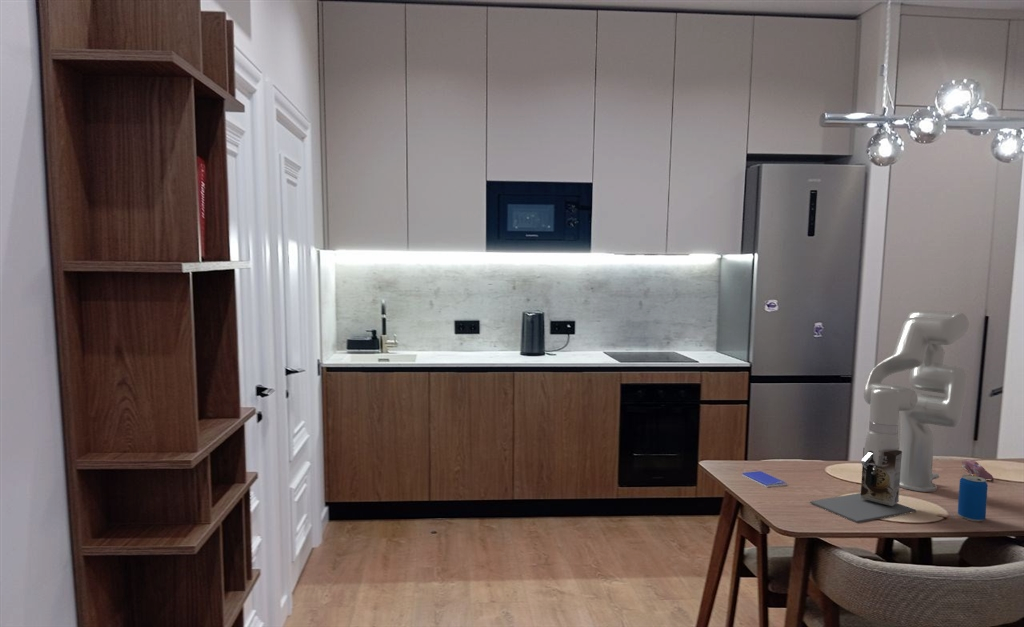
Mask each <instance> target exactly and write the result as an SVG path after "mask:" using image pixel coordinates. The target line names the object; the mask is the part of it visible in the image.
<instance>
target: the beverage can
mask: <svg viewBox="0 0 1024 627" xmlns="http://www.w3.org/2000/svg"><path fill="white" fill-rule="evenodd" d="M987 499H988V483H987V480H986V479H984V478H982V477H978V476H974V475H973V476H972V475H970V474H963V475H961V478H960V479H959V490H958V503H957V514H958V515H959V516H960V518H962V519H964V520H967V521H971V522H982V521H984V520H986V515H987Z"/></svg>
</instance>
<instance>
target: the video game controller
mask: <svg viewBox="0 0 1024 627" xmlns="http://www.w3.org/2000/svg"><path fill="white" fill-rule="evenodd" d="M961 464H962V466H961V467H962V469H965V470H966V471H967V472H968V473H971V474H974V475H973V476H978V477H981V478H984V479H993V480H994V477H993V475H992V474H991V473H989V471H987V470H986V469H985V468H984V466H982V465H981V464H979V463H978V461H976V460H971V459H968V460H967V459H966V460H964V461H962V462H961Z"/></svg>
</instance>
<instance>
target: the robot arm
mask: <svg viewBox="0 0 1024 627" xmlns="http://www.w3.org/2000/svg"><path fill="white" fill-rule="evenodd" d="M968 329H969V318H968V317H967V315H966V314H965V313H963V312H959V311H943V310H927V309H926V310H921V309H920V310H914V311H911V312H909V313H908V315H907V317H906V320H905V321H904V322H903V324H902V326H901V329H900V332H899V334H898V337H897V340H896V342H895V346H894V350H893V352H892V354H891V355H890V356H888V357H885V359H883V360H882V361H880V362H879V363H878V364H877V365H875V366H874V367H873V368H872V369H871V371H870V372H869V374H868V376H867V380H866V382H865V386H864V390H863V399H864V401H865V402H866V403H867V405H869V406H870V407H869V424H868V431H867V434H866V437H865V441H864V446H863V448H864V456H863V455H862V459H861V460H860V462H861V463H860V464H861V465H863V468H864V469H865V472H866V481H865V484H866V485H869V486H871V487H876V482H877V475H876V474H875V473H876V471H877V469H878V467H880V466H882V462H883V456H884V452H887V451H897V450H899V451H902V457H901V470H900V485H899V488H902V489H906V490H910V491H915V492H923V493H928V492H929V493H930V492H935V491H937V488H938V487H937V485H936V484H935V483H933V480H937V479H939V478H940V476H939V474H938V473H937V472H933V460H934V459H933V458H934V444H935V442H934V441H935V436H934V433H933V431H932V430H931V428H930V427H929V426H928V425H933V426H934V425H935V426H941V427H945V428H955V427H957V426H959V424H960V423H961V420H962V416H963V413H964V412H963V411H964V407H965V406H964V405H965V401H966V396H967V389H968V376H967V373H966V371H965V369H963V368H962V367H960V366H957V365H949V364H948V365H947V364H943V363H944V357H945V349H944V347H943V346H948V345H949V346H950V345H953V344H954V343H956V342H958V341H959V340H961V339H962V338H963V337H964V336H965V335H966V334H967V332H968ZM904 371H905V372H906V371H910V372H909V384H910V386H911V387H912V388H911V387H907V386H902V385H897V384H888V383H882V382H883V381H884V380H885V379H886V378H887V377H890V376H891V375H894V374H897V373H900V372H904ZM915 389H916V390H919V391H923V392H930V393H937V394H944V395H946V396H939V395H933V394H926V393H920V392H919V393H918V392H916V391H915ZM899 420H900V423H899ZM899 424H900V425H899ZM899 426H900V429H899ZM899 430H900V432H899ZM898 433H899V434H900V435H899V434H898ZM872 458H873V460H874V462H875V464H874V463H870V460H871V459H872ZM870 465H871V466H874V467H873V469H872V468H871V467H870Z"/></svg>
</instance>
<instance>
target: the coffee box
mask: <svg viewBox="0 0 1024 627" xmlns="http://www.w3.org/2000/svg"><path fill="white" fill-rule="evenodd" d="M862 451H863V452H862V457H863V456H864V447H863V450H862ZM901 457H902V451H899V450H897V451H887V452H884V456H883V462H882V466H880V467H878V469H877V471H876V473H875V474H876V475H877V482H876V487H871V486H869V485H866V484H865V481H866V472H865V469H864V468H863V465H862V464H861V465H862V466H861V467H862V468H861V483H860V484H861V485H860V493H861V497H860V498H863V499H867V500H871V501H874V502H878V503H882V504H886V505H890V506H893V505H895V504H896V503H899V500H900V498H899V496H900V487H899V485H900V470H901ZM870 463H874V464H875V462H874V460H873V458H872V459H871V460H870ZM870 467H871V468H872V469H873V467H874V466H871V465H870Z"/></svg>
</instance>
